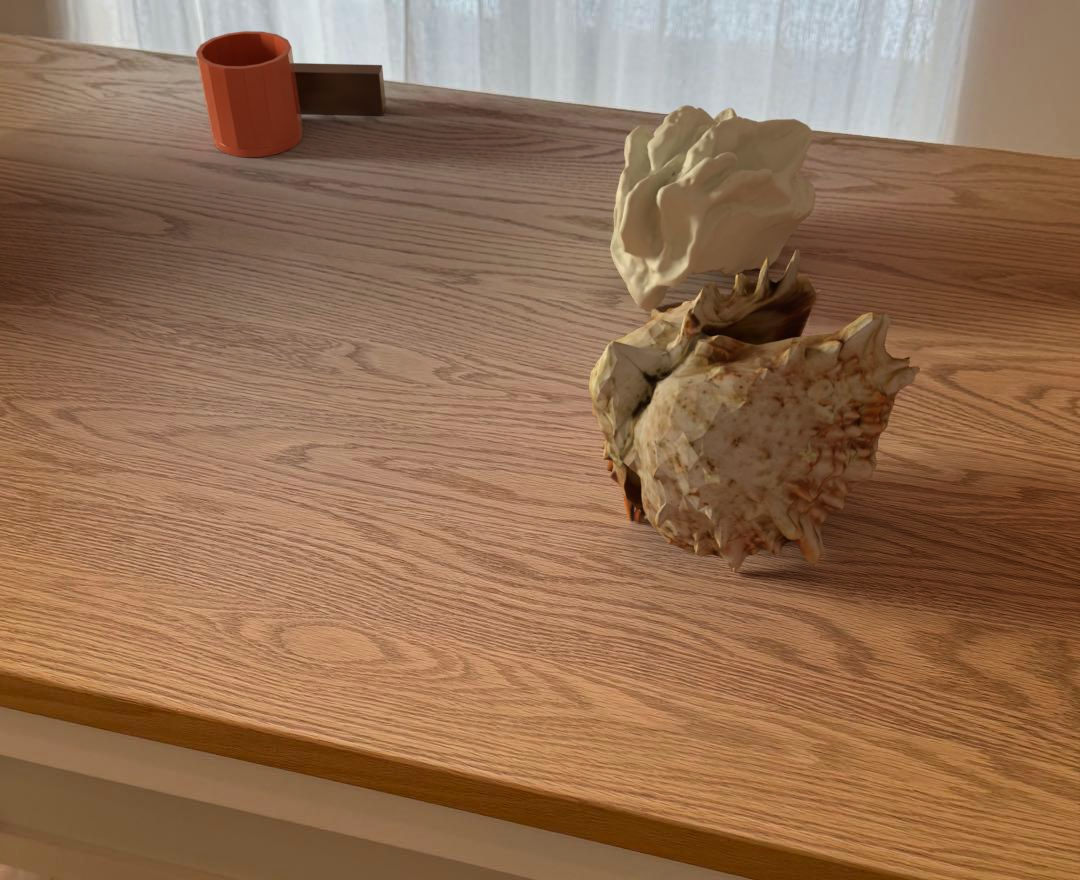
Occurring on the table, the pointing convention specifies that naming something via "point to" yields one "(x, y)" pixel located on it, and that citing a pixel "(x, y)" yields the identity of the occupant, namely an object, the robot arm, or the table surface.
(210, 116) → the cup
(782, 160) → the wavy plaster lump
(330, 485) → the table surface
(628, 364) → the seashell
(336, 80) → the side rail
